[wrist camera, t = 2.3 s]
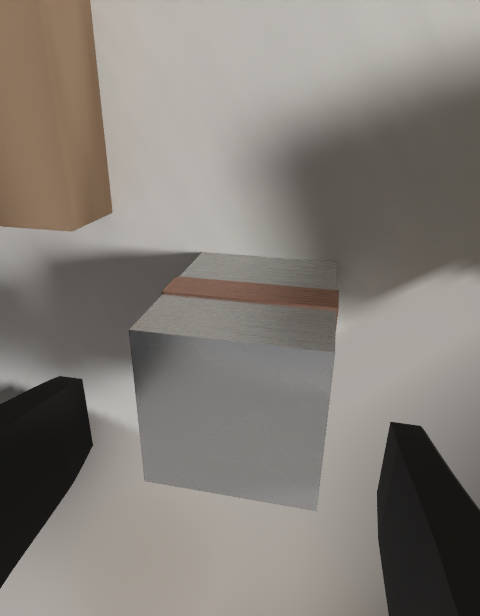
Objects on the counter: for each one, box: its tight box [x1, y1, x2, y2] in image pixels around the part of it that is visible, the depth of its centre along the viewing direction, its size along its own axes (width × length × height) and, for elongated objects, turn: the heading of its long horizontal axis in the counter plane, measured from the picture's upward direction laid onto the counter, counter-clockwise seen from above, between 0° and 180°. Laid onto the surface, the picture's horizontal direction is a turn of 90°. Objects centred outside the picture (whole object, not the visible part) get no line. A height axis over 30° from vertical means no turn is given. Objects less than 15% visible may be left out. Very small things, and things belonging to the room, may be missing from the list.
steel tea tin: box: [129, 252, 339, 511], centre depth 13 cm, size 5×5×6 cm
